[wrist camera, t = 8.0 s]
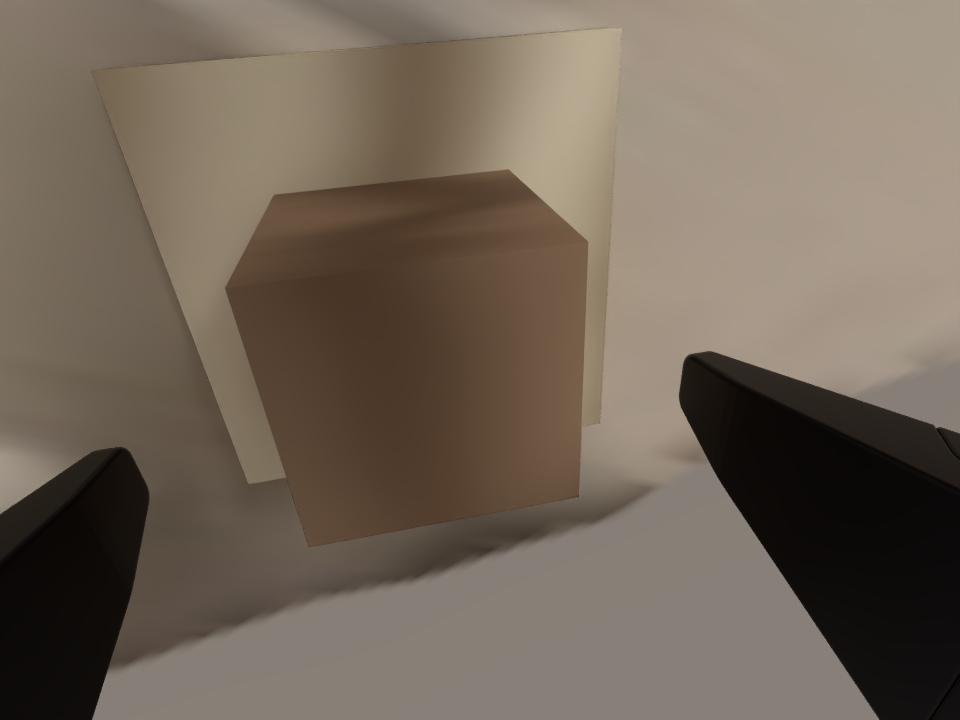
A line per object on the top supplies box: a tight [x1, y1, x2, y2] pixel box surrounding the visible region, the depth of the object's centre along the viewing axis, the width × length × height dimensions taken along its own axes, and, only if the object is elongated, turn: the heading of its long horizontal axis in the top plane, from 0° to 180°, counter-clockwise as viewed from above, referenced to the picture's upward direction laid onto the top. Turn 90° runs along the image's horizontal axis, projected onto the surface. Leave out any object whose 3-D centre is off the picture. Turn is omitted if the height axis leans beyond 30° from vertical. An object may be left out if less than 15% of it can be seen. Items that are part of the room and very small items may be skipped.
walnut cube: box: [225, 169, 588, 547], centre depth 11 cm, size 5×5×5 cm
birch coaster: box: [91, 28, 622, 484], centre depth 14 cm, size 10×10×1 cm
